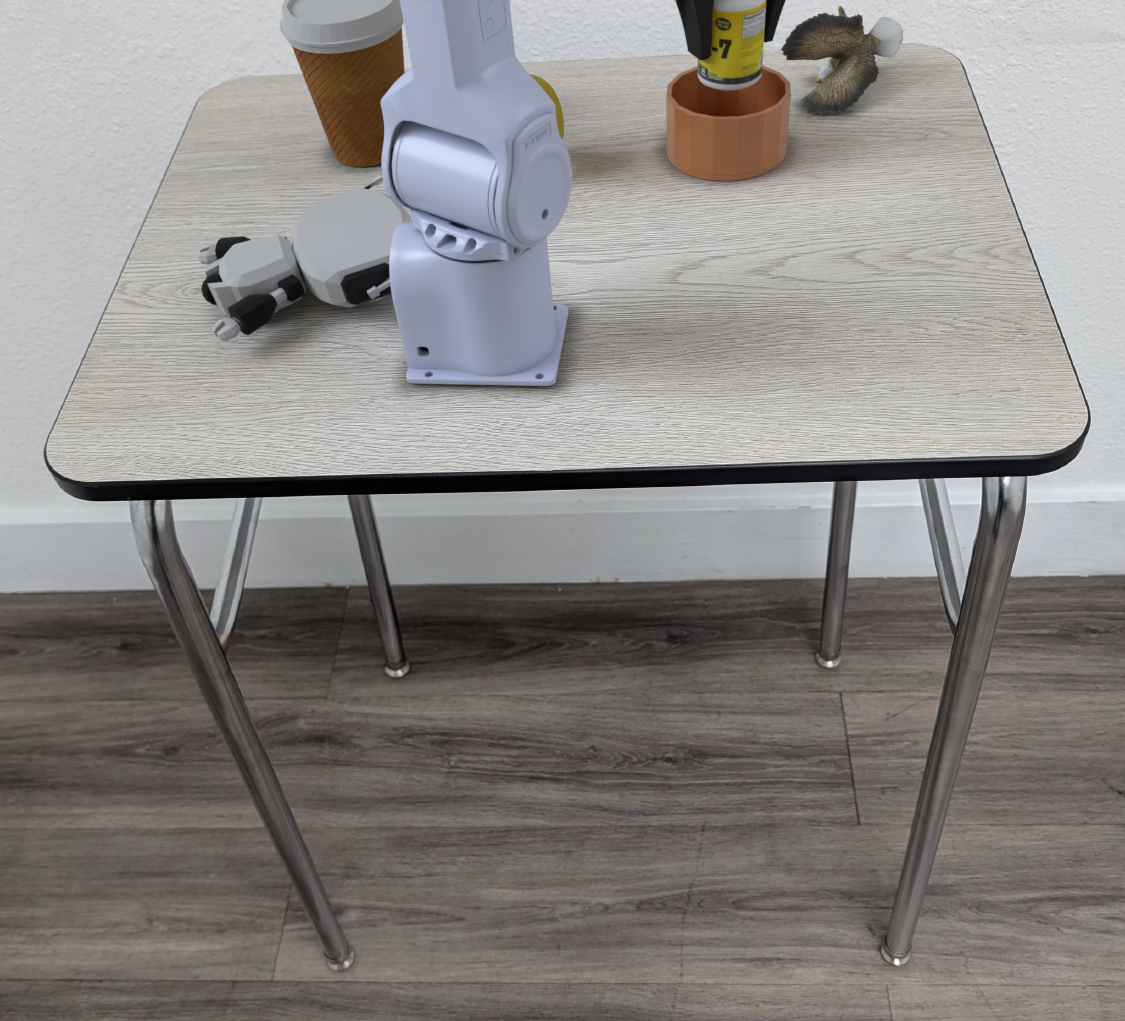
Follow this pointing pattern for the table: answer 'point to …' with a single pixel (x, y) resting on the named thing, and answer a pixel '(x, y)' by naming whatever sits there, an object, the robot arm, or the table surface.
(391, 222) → the robot toy
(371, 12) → the disposable coffee cup
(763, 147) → the copper cup
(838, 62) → the eagle figurine
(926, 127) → the table surface
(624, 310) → the table surface
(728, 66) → the supplement bottle
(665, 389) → the table surface
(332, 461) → the table surface
